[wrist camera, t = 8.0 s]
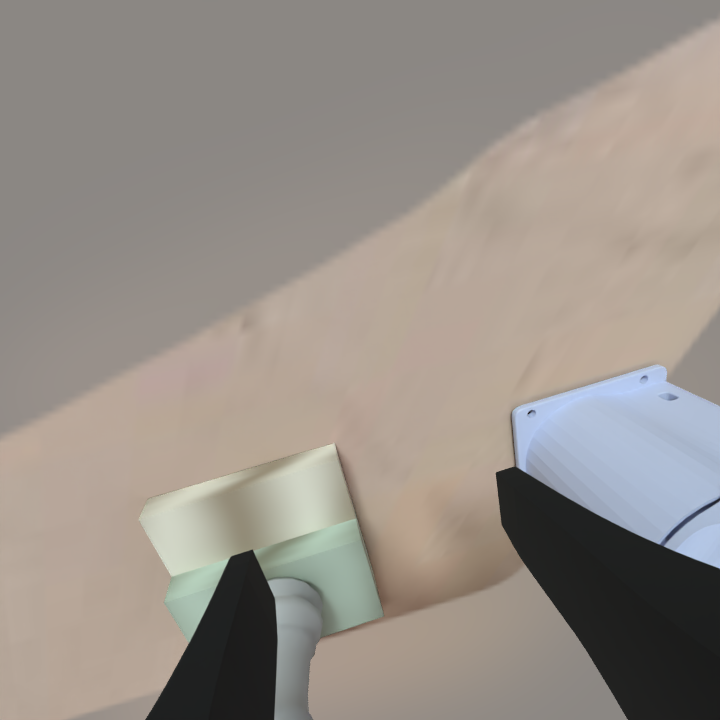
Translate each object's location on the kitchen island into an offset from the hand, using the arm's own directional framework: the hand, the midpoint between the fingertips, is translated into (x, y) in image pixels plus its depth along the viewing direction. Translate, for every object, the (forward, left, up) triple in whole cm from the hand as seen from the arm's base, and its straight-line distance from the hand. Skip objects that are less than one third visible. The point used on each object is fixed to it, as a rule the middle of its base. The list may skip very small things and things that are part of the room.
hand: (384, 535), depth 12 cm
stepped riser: (+6, +8, -10) cm, 14 cm away
